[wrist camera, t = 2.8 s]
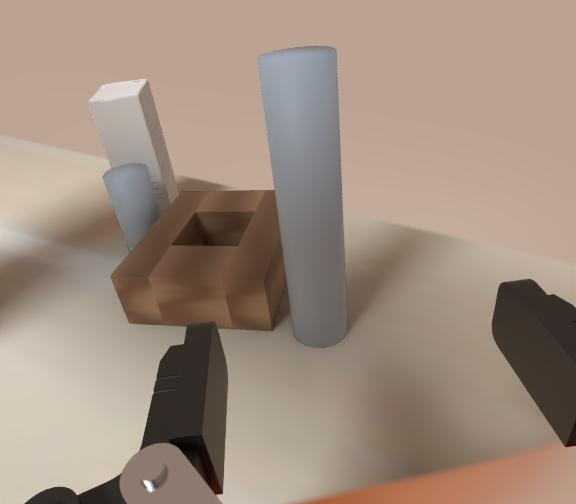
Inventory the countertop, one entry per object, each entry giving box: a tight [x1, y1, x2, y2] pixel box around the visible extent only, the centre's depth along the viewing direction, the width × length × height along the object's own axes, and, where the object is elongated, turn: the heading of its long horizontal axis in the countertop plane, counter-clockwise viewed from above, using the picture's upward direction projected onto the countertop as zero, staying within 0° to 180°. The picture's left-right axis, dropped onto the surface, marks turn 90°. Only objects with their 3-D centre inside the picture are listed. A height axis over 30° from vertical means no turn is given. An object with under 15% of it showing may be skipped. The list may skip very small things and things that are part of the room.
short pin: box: [103, 163, 161, 252], centre depth 36 cm, size 3×3×7 cm
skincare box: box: [88, 79, 179, 215], centre depth 40 cm, size 6×4×12 cm
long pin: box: [258, 46, 347, 348], centre depth 23 cm, size 3×3×16 cm
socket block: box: [110, 190, 287, 331], centre depth 33 cm, size 10×12×4 cm
